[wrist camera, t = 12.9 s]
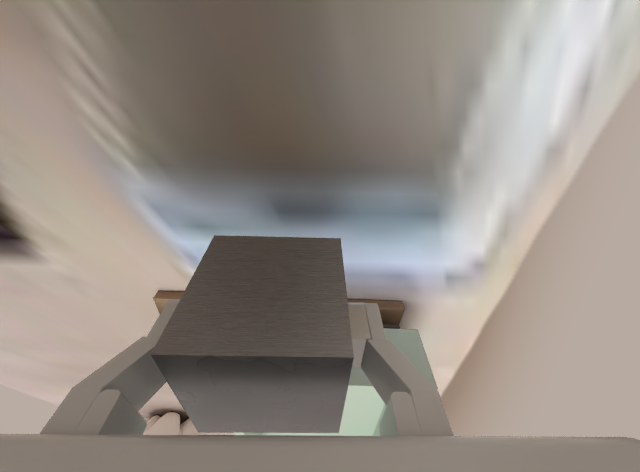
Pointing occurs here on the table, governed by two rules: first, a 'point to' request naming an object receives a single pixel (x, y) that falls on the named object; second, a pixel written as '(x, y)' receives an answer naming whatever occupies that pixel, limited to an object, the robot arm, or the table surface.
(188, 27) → the table surface
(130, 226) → the table surface
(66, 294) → the table surface
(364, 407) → the mint green tray
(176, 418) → the water bottle
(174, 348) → the metal block
